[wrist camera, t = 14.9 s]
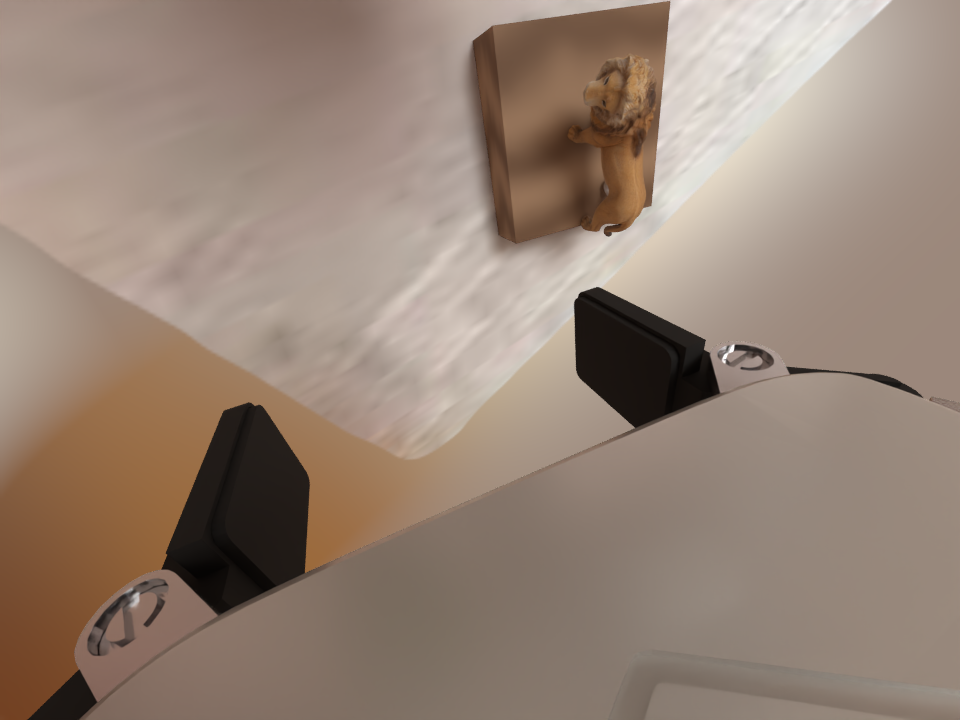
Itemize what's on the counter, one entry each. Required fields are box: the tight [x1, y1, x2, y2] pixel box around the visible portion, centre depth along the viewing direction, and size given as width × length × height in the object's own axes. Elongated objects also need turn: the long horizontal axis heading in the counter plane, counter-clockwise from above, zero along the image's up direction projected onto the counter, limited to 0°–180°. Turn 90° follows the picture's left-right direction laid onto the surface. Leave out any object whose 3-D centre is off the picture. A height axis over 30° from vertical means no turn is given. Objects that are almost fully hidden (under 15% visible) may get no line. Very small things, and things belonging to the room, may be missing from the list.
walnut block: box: [473, 1, 670, 243], centre depth 34 cm, size 16×16×5 cm
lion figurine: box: [567, 54, 657, 237], centre depth 30 cm, size 15×5×9 cm, turn 27°
